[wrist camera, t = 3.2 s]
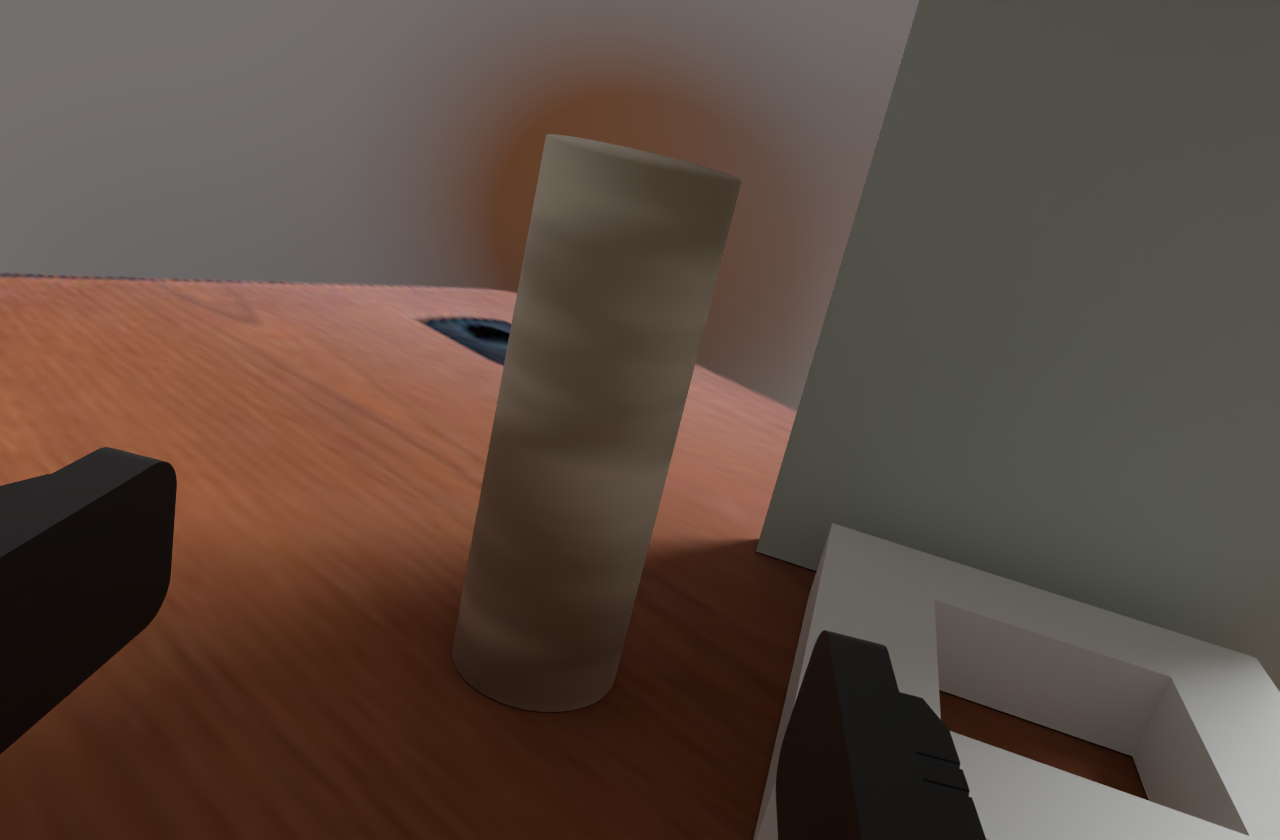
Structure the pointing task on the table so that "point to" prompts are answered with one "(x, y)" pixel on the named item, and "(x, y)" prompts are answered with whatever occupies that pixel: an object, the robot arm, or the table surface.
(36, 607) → the robot arm
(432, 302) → the table surface
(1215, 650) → the socket plate
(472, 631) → the birch peg
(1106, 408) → the c-shaped stand frame
